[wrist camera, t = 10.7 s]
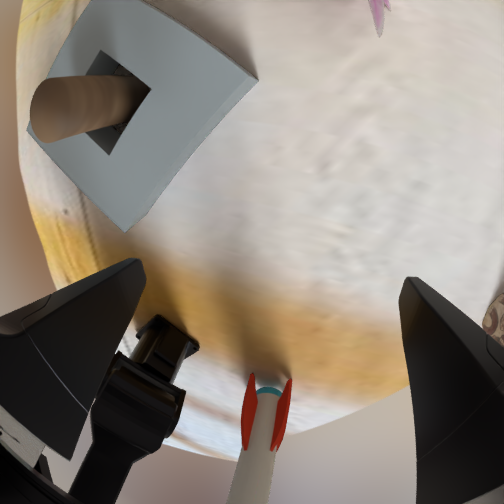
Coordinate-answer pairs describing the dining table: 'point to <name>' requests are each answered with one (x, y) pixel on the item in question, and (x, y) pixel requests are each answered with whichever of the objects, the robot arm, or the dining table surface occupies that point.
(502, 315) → the figurine
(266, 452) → the toy rocket
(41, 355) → the robot arm
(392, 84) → the dining table surface
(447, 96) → the dining table surface
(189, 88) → the socket block
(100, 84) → the walnut peg
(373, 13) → the lily
